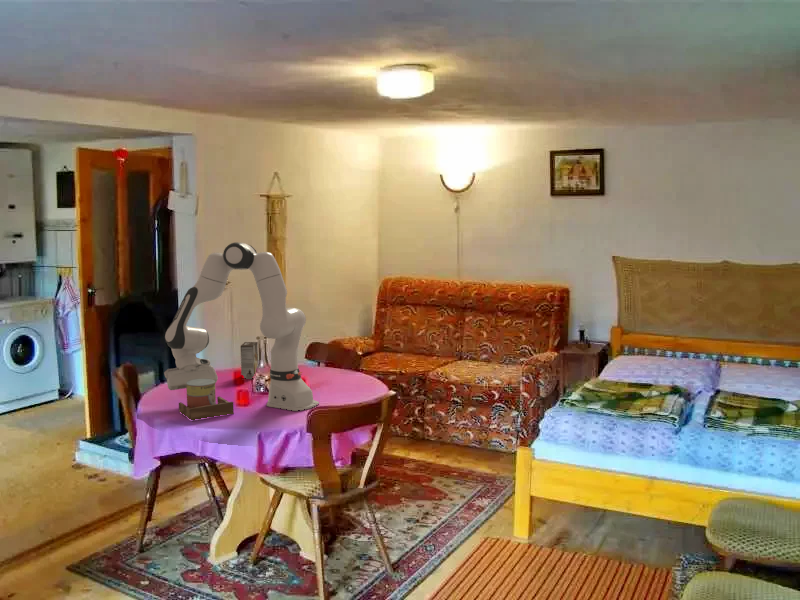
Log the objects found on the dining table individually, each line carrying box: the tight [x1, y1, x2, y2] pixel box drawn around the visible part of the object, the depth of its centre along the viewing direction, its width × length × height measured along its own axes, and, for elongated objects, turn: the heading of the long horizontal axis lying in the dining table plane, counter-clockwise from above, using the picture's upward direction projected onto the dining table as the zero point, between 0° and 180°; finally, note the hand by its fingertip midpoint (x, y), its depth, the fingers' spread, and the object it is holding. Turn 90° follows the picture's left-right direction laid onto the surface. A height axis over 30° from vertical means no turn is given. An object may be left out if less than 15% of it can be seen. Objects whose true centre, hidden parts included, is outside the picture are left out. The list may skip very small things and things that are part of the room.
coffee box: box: [240, 341, 259, 380], centre depth 360 cm, size 9×6×16 cm
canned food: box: [185, 379, 217, 408], centre depth 303 cm, size 11×11×12 cm
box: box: [178, 396, 235, 420], centre depth 301 cm, size 14×17×5 cm
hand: (197, 394), depth 308 cm, fingers closed
